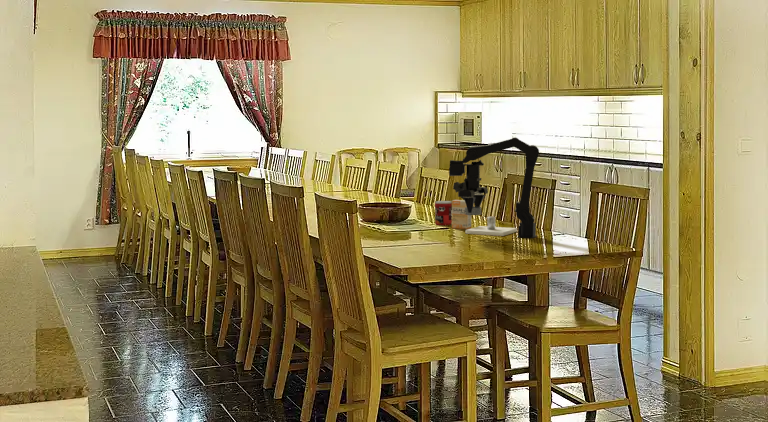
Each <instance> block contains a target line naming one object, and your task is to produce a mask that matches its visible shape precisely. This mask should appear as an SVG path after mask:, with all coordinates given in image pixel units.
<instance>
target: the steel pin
mask: <svg viewBox="0 0 768 422" xmlns="http://www.w3.org/2000/svg"><path fill="white" fill-rule="evenodd" d="M486 219H487V220H486V221H487V222H486V223H487V224H486V226H487V229H488V230H495V227H496V216H487V217H486Z"/></svg>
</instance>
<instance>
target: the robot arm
mask: <svg viewBox="0 0 768 422" xmlns="http://www.w3.org/2000/svg"><path fill="white" fill-rule="evenodd" d="M511 148H515V149H517V150H519V151H520V152H521V153H524V154H525V169H524V170H525V171H524V176H523V184H522V189H521V196H520V200H519V201H518V200H517V201H516V202H515V210H514V212H515V215H516V218H517V219H518V220H520V222H519V225H518V228H517V232H518V235H517V238H522V239H523V238H524V239H534V238H536V237H538V235H536V234H537V233H536V232H537V230H536V226H537V225H536V222H535V216H534V215H533V214H532V213H531V211H530V210H531V209H530V206H531V205H530V197H531V191H532V184H533V178H534V170H535V166H536V163H537V161H538V158H539V155H540V150H539V147H537V146H536V145H534V144H532V145H530V144H529V143H526V142H524V141H522V140H520V139H519V138H518V137H516V136H515V137H512V138H510V139H506V140H502V141H498V142H494V143H491V144H488V145H478V146H477V145H475V146H470V147H469V148H467V150H466V152H465V157H463V158H462V160H454V159H451V160H450V161H449V168H448V173H449V174H448V175H449V177H460V176H461V177H462V176H463V175H464V174H466V176H465V177H466V178H464V180H463V182H459V181H456V182H453V186H452V187H453V188H452V190H454V191H455V193H457V197H458V198H461V200H464V201H465V203H466V206H467V209H468V212H469V213H471V212H472V208H473V207H481V205H482V203H483V201H484V199H485V197H486V195H487V194H489V188H487V187H486V186H481V181H482V177H481V175H480V174H481V173H480V171H481V169H480V168H481V166H483V167H484V165H485V163H484V162H482V160H481V158H482V157H484V156H487V155H489V154H491V153H496V152H500V151H503V150H504V151H505V150H508V149H511ZM476 160H478V161H476ZM469 162H471V163H469Z"/></svg>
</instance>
